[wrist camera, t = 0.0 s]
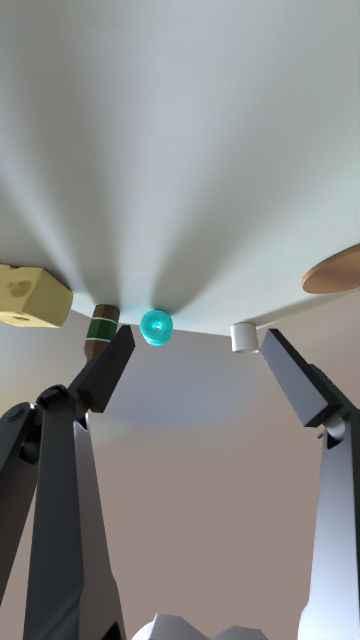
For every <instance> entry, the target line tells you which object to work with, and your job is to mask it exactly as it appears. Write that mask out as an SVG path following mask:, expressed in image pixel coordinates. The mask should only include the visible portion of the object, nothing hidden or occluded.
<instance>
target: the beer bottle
mask: <svg viewBox="0 0 360 640" xmlns="http://www.w3.org/2000/svg"><path fill="white" fill-rule="evenodd" d="M119 315H120V311H119V310H118V309H117V308H116V307H113V306H110V305H106V304H99V305H96V307H95V310H94V313H93V316H92V319H91V323H90V326H89V330H88V333H87V336H86V340H85V345H84V353H85V356H86V358H87V362H86V364H87V363H88V361H89V360H91V359H92V358H93V357H95V356H100V355H101V354H102V353H103V351H104V350H105V348H106V347H107V346H108V344H109V343H110V342H111V340H112V339H113V337H114V336H115V334H116V330H117V325H118V320H119Z"/></svg>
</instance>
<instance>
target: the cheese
mask: <svg viewBox="0 0 360 640" xmlns="http://www.w3.org/2000/svg"><path fill="white" fill-rule="evenodd" d="M72 301H73V293H72V292H71V291H70V290H69V289H68V288H66V287H65V286H64V285H63V284H61V283H60V282H59V281H58V280H56V279H55V278H54V277H53V276H52V275H51V274H49V273H48V272H47V271H46V270H45V269H44V268H37V267H20V268H18V269H16V268H14V267H12V266H10V265H5V264H0V321H3V322H5V323H8V324H11V325H15V326H40V327H56V328H61V326H62V325H63V323H64V322H65V320H66V318H67V316H68V314H69V311H70V308H71V305H72Z"/></svg>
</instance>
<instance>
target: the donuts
mask: <svg viewBox="0 0 360 640" xmlns="http://www.w3.org/2000/svg"><path fill="white" fill-rule="evenodd" d="M156 327H160V330H154V328H156ZM172 328H173V323H172V320H171V318H170V316H169V315H168V314H167V313H165V312H163V311H160V310H153V311H150V312H148V313H146V314H145V315H144V316H143V318H142V319H141V322H140V330H141V332H142V334H143V335H144V338H145V339H146V341H147V342H148V343H150V344H152V345H157V346H158V345H162V344H164V343H166V342H167V341H168V340H169V339H170V337H171V333H172Z"/></svg>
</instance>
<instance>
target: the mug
mask: <svg viewBox="0 0 360 640" xmlns="http://www.w3.org/2000/svg"><path fill="white" fill-rule="evenodd" d="M231 335H232V345H233V352H235V353H255V352H258V351H259V346H258V340H257V334H256V328H255V324H253V323H247V322H245V323H237V324H234V325H232V326H231Z"/></svg>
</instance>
